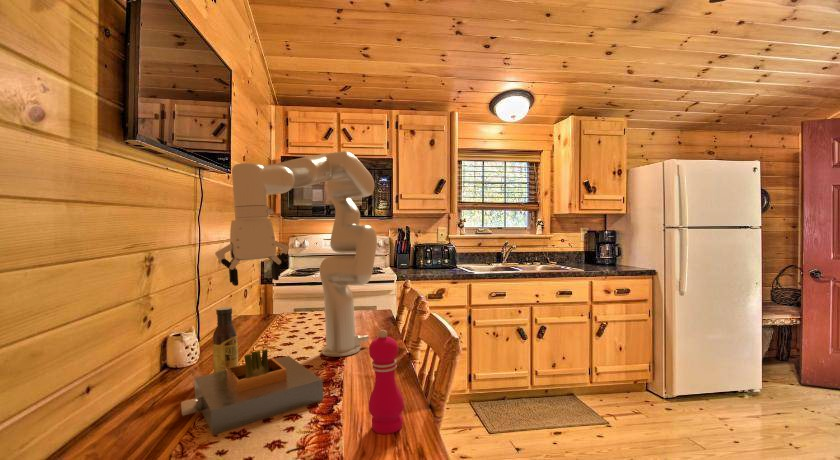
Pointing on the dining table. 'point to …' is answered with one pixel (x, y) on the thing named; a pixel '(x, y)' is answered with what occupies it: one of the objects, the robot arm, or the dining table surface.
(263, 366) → the fennel bulb
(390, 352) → the pepper mill
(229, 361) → the sauce bottle
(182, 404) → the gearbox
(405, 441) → the dining table surface
